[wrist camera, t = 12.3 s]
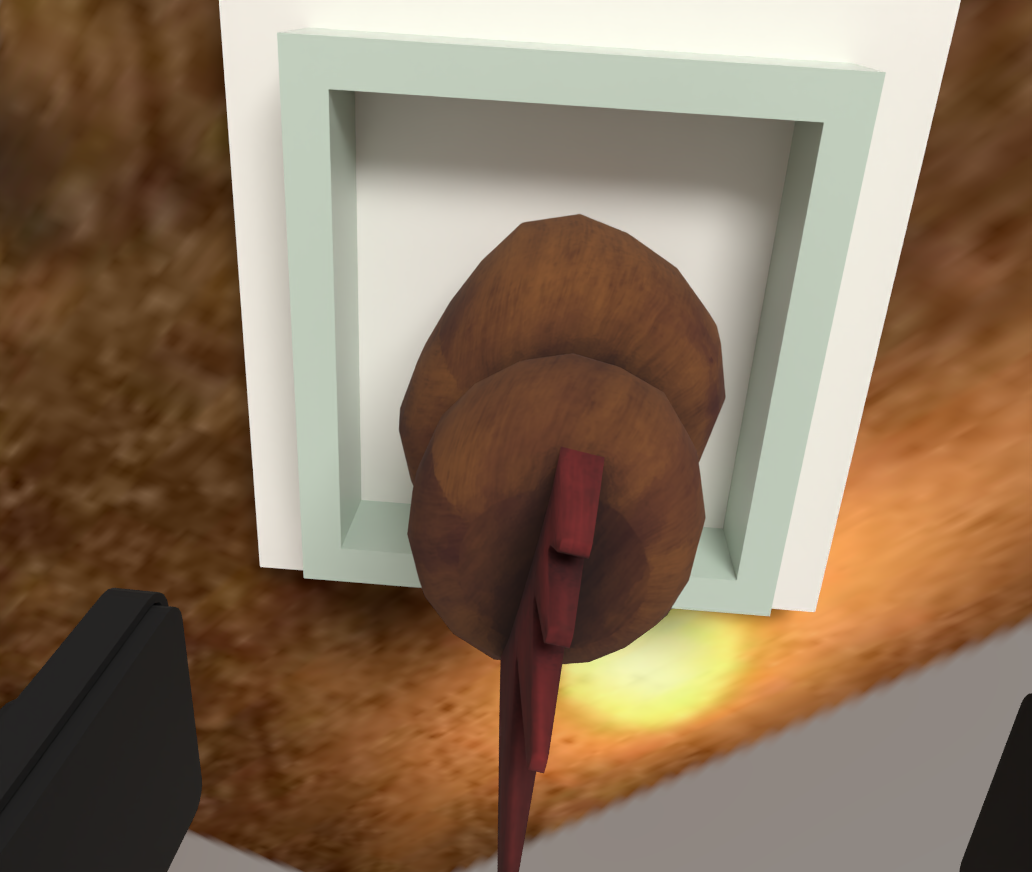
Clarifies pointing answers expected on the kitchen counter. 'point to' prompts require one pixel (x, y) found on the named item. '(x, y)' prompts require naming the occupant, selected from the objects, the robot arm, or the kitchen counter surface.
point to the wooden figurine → (558, 466)
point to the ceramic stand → (562, 192)
